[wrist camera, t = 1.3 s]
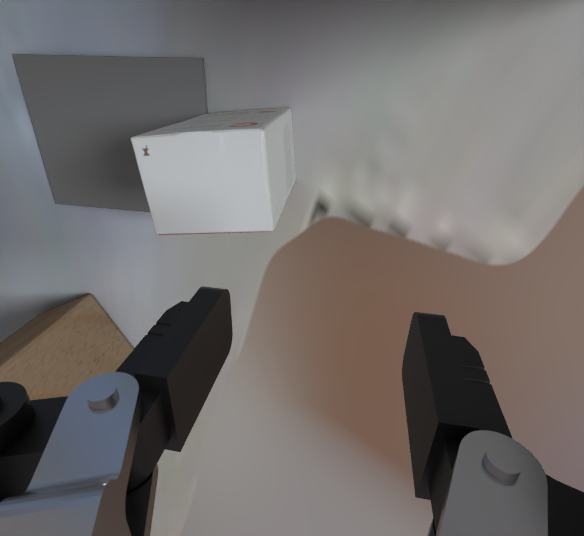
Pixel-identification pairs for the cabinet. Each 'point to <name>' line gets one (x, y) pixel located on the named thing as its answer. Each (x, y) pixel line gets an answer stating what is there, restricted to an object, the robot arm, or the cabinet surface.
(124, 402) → the robot arm
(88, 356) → the wooden block
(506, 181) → the cabinet surface
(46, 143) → the mat
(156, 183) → the small box
